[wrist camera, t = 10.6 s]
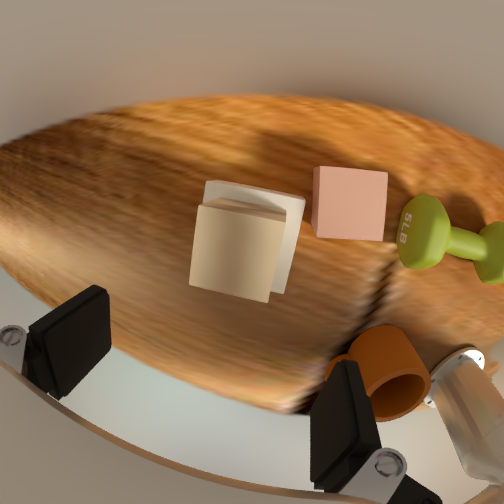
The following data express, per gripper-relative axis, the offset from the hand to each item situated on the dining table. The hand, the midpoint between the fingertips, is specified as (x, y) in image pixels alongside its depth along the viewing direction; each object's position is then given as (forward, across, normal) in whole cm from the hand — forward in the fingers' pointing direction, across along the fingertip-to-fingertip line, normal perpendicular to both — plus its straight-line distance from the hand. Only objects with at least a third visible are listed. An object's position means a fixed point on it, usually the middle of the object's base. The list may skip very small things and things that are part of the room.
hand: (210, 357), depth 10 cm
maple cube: (+16, +1, -1) cm, 16 cm away
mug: (+21, -17, +11) cm, 29 cm away
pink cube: (+21, -7, -6) cm, 23 cm away
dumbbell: (+21, -22, -6) cm, 31 cm away
